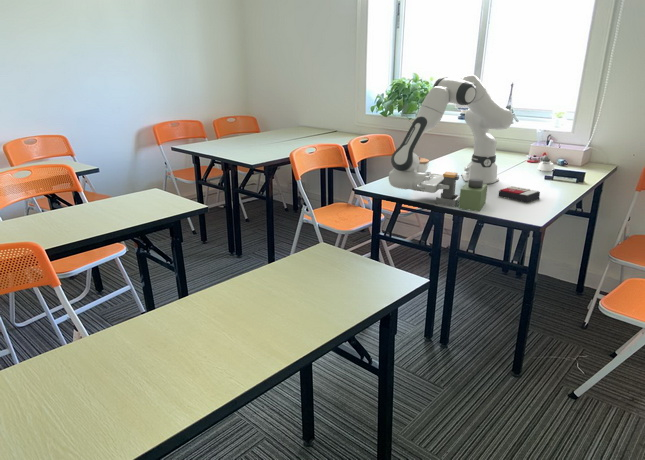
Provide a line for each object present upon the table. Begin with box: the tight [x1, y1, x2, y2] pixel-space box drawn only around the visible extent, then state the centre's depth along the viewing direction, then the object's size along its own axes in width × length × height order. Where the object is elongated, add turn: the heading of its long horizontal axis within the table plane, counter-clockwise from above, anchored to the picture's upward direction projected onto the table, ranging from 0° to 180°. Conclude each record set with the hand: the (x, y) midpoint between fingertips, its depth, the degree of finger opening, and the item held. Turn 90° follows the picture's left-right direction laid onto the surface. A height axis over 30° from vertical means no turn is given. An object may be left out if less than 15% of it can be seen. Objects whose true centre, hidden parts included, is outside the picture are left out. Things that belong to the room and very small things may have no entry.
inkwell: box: [537, 154, 555, 172], centre depth 272 cm, size 9×18×10 cm, turn 149°
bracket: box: [435, 192, 460, 207], centre depth 218 cm, size 9×9×3 cm
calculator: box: [498, 186, 541, 204], centre depth 225 cm, size 11×4×15 cm
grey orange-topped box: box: [442, 171, 460, 199], centre depth 216 cm, size 6×5×12 cm
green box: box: [458, 179, 488, 212], centre depth 212 cm, size 9×13×12 cm
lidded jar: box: [417, 156, 430, 173], centre depth 272 cm, size 11×11×9 cm
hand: (451, 185), depth 216 cm, fingers closed on grey orange-topped box, 4 cm apart
